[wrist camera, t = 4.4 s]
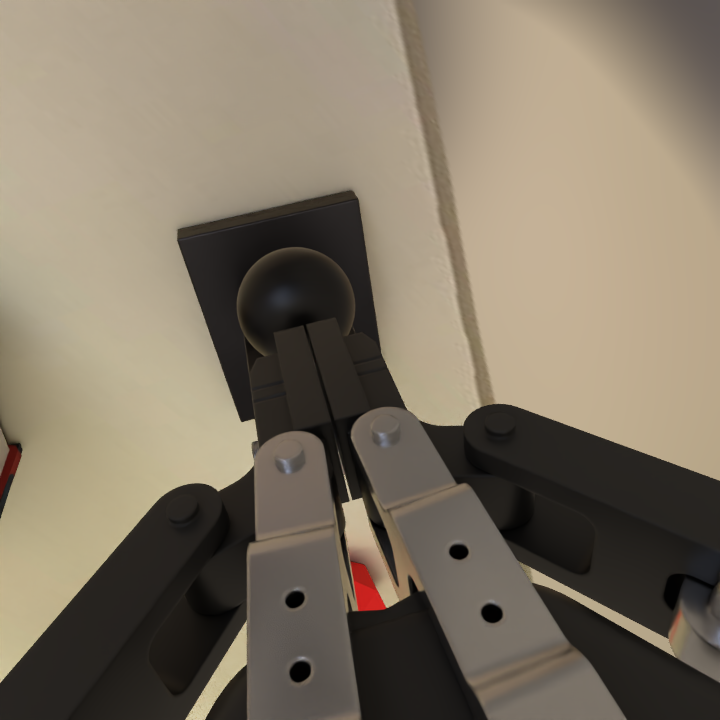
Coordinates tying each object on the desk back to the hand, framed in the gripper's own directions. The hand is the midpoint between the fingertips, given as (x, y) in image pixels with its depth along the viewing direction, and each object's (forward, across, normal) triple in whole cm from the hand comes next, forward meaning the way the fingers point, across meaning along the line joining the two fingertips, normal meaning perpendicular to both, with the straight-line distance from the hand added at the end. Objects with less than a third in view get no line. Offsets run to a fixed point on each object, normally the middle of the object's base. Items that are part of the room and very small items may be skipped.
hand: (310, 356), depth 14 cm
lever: (+6, 0, +4) cm, 7 cm away
